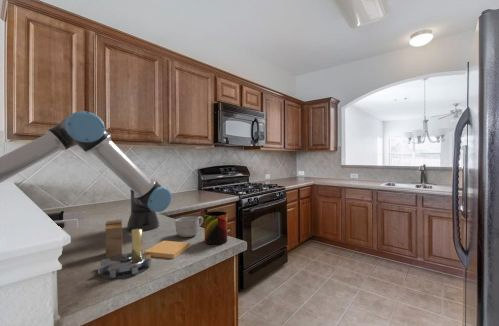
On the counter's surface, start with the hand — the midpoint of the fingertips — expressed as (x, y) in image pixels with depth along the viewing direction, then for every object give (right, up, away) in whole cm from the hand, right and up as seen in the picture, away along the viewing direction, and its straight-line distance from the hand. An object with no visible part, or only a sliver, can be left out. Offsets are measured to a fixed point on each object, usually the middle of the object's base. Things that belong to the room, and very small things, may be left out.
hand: (81, 218), depth 83 cm
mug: (+44, -14, +20) cm, 50 cm away
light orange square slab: (+28, -14, +7) cm, 32 cm away
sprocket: (+19, -14, -7) cm, 25 cm away
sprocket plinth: (+19, -14, -7) cm, 25 cm away
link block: (+9, -14, +5) cm, 17 cm away
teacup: (+32, -14, +27) cm, 44 cm away
